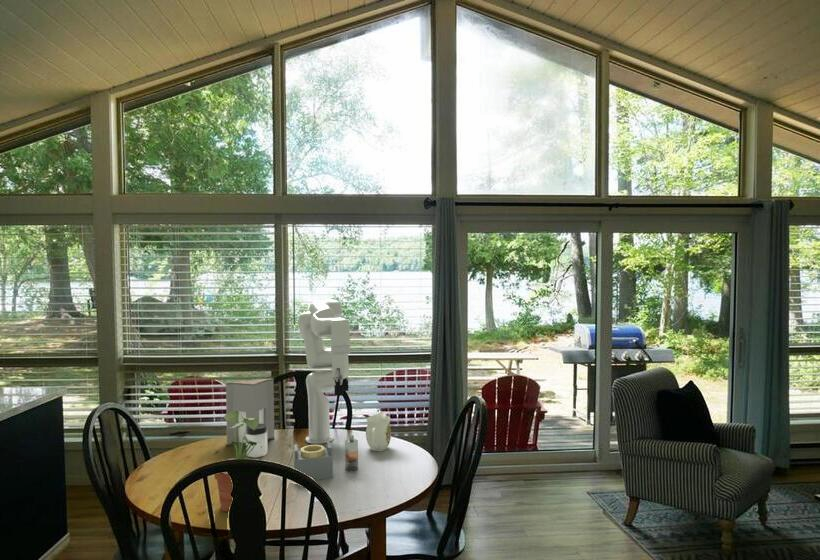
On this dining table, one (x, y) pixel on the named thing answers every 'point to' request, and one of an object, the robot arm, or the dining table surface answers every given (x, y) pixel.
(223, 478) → the potted plant
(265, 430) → the jar
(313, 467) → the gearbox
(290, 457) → the dining table surface
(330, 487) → the dining table surface
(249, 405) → the cabinet
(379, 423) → the pitcher
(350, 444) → the cocktail shaker
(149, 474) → the dining table surface
